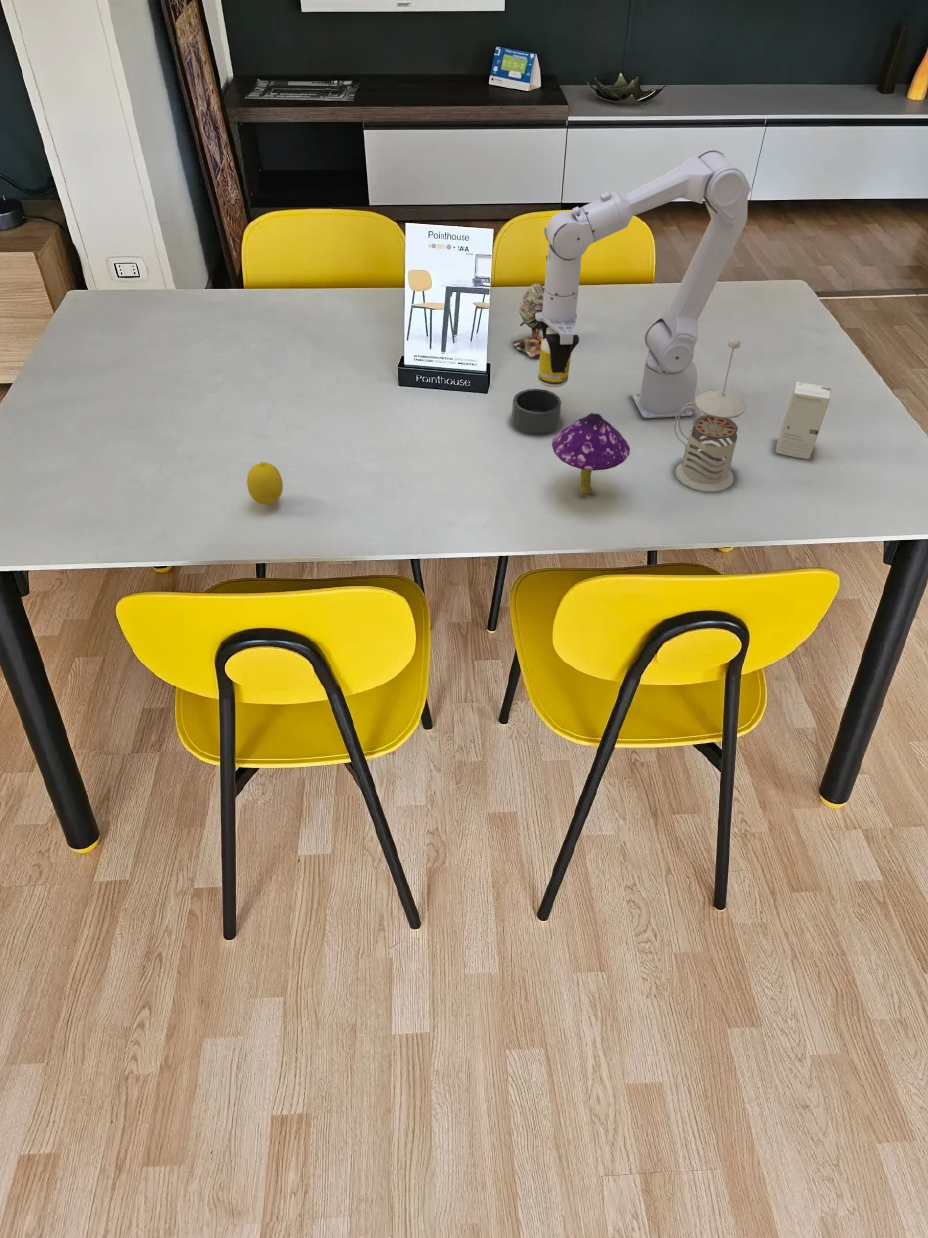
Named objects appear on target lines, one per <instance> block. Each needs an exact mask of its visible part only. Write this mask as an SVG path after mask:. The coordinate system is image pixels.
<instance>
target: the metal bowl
mask: <svg viewBox="0 0 928 1238" xmlns="http://www.w3.org/2000/svg"><path fill="white" fill-rule="evenodd" d="M561 412H562V399H561V398H560V396H559V395H558V394H556V393H555V392H552V391H550V390H547V389H541V388H528V389H524V390H522V391H519V392H518V393H516V394H515V395H514V396H513V399H512V408H511V424H512V426H513V427H514V428H515V430H517V431H518V432H520V433H523V434H525V435H531V436H544V435H550V434H552V433H554V432H555V431H556V430H558V428H559V426H560V422H561Z"/></svg>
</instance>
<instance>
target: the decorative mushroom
mask: <svg viewBox="0 0 928 1238" xmlns="http://www.w3.org/2000/svg"><path fill="white" fill-rule="evenodd" d="M551 448H552V450H553V453H554V454H555V456H556V457H557V458H558V459H559V460H560V461H561V462H563V463H564V464H567V465H568V466H570V467H573V468H576V469H579V470H580V482H579V483H580V484H579V491H580V493H582V495H583V494H584V495H588V494H589V493H590V494H591V492H592V486H591V484H592V483H591V480H592V479H591V478H592V472H593V471H605V470H606V471H607V470H610V469H613V468H616V467H618V466H619V465H621V464H623V463H624V462H625V461H626V460H627V459H628V458H629V456H630V453H631V447H630V445H629V443H628V441H627V439H625V438H624V437H623V435H622V433H621V432H620V431H619V430H618V429H617V428H616V427H615V426H613V425H612V423H610V422H609V421H607V419H604V418H603V417H602V415H601V414H599V413H598V412H591V413H588V414H587V415H586V416H584V417H581V418H579V419H577V420H575V421H574V422H572V423H570V424H569V425H568V426H566V427H564V428H562V429H561V430H559V432H557V434H556V435H555V436H554V437H553V438H552V442H551Z"/></svg>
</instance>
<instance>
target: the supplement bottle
mask: <svg viewBox="0 0 928 1238" xmlns="http://www.w3.org/2000/svg"><path fill="white" fill-rule="evenodd" d="M546 334H557V332H556V331H555V330H553V329H552V328H551V327H550V326H549V327H548V328H547V331H546ZM571 358H572V354H571V355H570V357H569V360H568V363H567V365H566V368H565V371H564V372H563V373H553V372H552V369H551V360H550V349H549V345H548V342H547V340H546V338H545V339H544V340H543V341H542V343H541V352H540V354H539V363H538V373H537V374H538V375H537V380H538V382H539V383H540V384H541V385H543V386H545V387H548V388H561V387H563V386H565V385H566V384H567V383H568V381H569V373H570V365H571Z"/></svg>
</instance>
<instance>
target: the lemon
mask: <svg viewBox="0 0 928 1238" xmlns="http://www.w3.org/2000/svg"><path fill="white" fill-rule="evenodd" d="M283 484H284V483H283V479H282V476H281V474H280V471H279V470H278V468H277V467H276V466H275V465H274V464H272V463H270V462H265V461H259V462H258V463H255V464H254V465H252V467H251V468H250V469H249V470H248V473H247V476H246V486H247V491H248V493H249V496H250V497H251V498H252V499H253V500H254V501H255V502H256V503H258V504H260V505H265V506H270V505H271V504H274V503H276V502H277V501H278V500H279V499H280V498H281V496H282V493H283V488H284V487H283V486H284V485H283Z"/></svg>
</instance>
